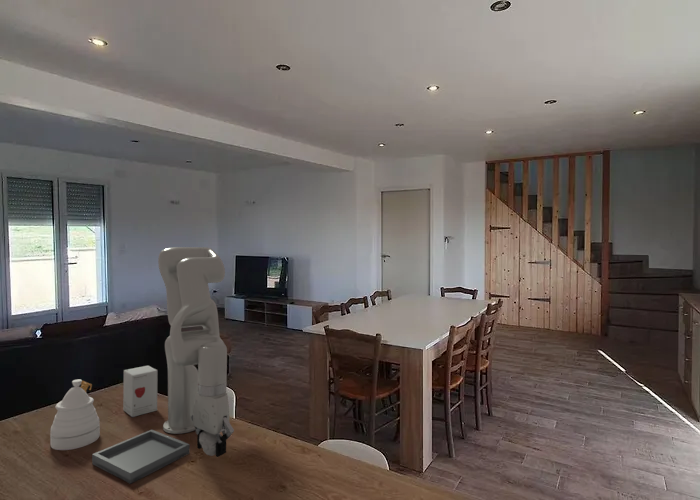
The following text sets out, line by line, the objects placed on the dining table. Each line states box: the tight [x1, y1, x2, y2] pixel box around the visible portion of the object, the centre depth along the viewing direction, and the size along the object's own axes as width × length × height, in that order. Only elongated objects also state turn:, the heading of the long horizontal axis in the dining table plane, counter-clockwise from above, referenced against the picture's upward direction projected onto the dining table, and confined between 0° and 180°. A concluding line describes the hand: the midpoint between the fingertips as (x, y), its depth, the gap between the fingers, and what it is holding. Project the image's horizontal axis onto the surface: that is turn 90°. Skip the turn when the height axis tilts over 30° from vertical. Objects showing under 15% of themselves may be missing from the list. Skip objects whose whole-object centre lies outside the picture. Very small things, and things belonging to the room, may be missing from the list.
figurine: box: [79, 380, 93, 393], centre depth 150 cm, size 8×6×12 cm
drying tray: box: [91, 429, 190, 485], centre depth 120 cm, size 18×18×3 cm
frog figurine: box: [199, 431, 223, 457], centre depth 117 cm, size 6×7×7 cm
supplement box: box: [122, 365, 158, 418], centre depth 154 cm, size 9×9×15 cm
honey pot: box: [49, 378, 101, 451], centre depth 131 cm, size 13×13×18 cm
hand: (211, 450), depth 117 cm, fingers closed on frog figurine, 6 cm apart
